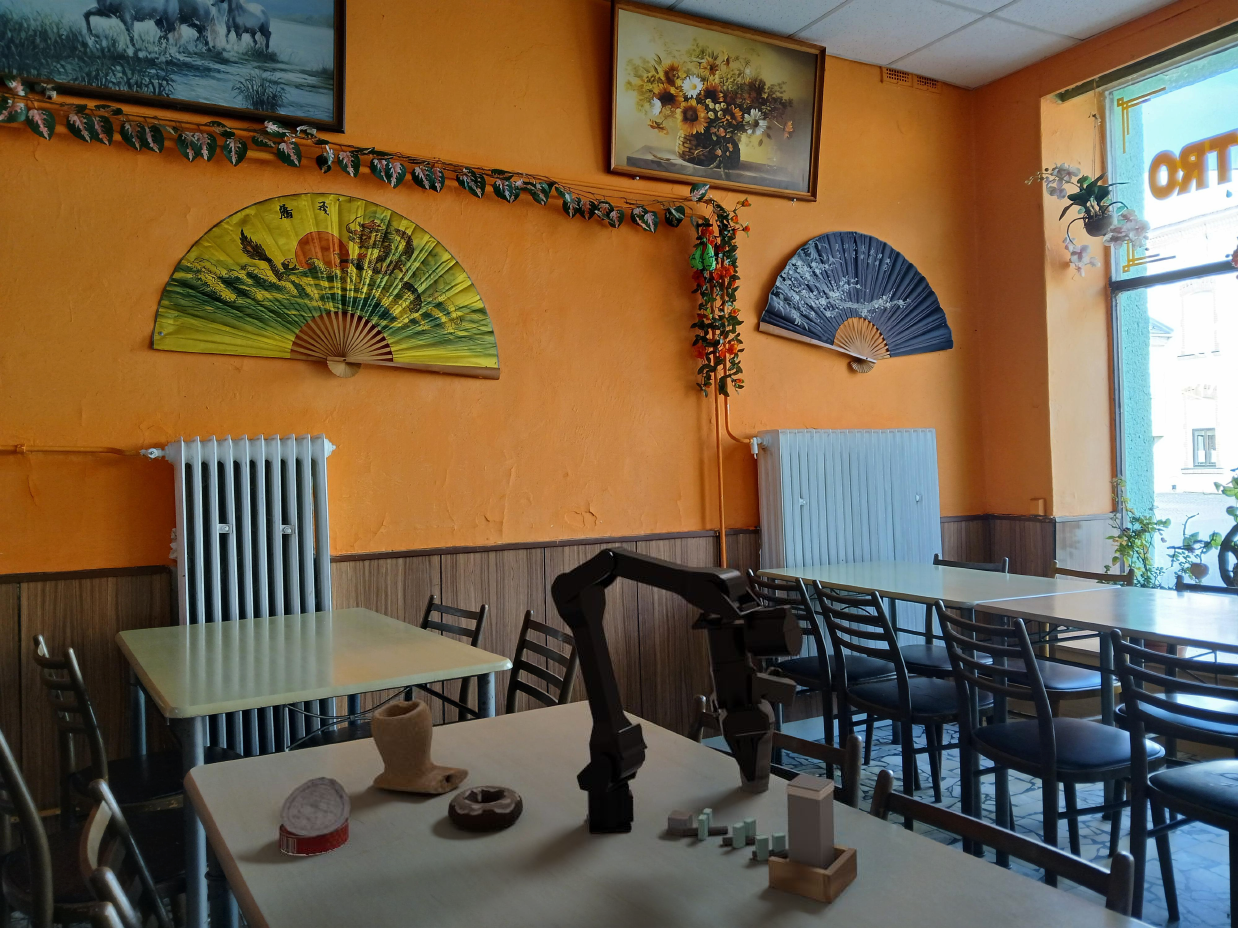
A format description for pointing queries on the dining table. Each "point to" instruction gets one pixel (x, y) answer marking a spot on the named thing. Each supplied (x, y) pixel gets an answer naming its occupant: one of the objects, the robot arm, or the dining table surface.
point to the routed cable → (730, 839)
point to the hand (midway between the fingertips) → (746, 772)
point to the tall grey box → (811, 821)
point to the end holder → (815, 875)
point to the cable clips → (741, 832)
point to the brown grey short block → (679, 822)
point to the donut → (485, 808)
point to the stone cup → (410, 750)
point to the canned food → (315, 817)
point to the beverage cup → (762, 757)
